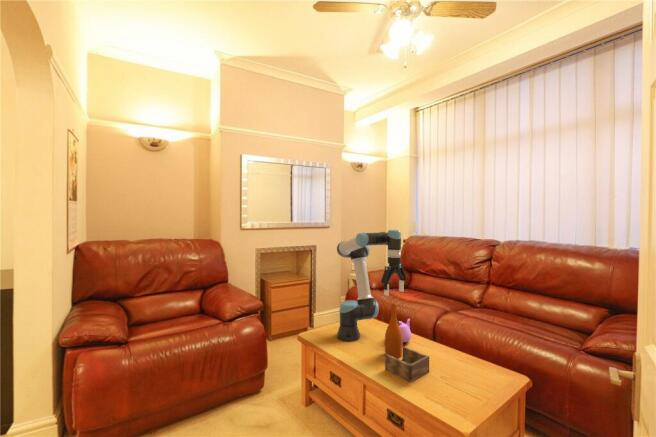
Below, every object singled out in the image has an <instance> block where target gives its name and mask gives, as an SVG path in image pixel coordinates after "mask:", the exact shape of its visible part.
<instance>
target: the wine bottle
mask: <svg viewBox="0 0 656 437" xmlns="http://www.w3.org/2000/svg"><path fill="white" fill-rule="evenodd" d="M390 312H391V313H390V315H391V316H390V319H389V323H388V325H387V326H386V327H387V328H386V330H385V335H384V347H385V348H384V352H385V354H388V355H390V356H392V357H395V358H397V359H399V358H401V357H403V345H402V333H401V330H400V327H399V326H400V324H399V321H400V320H398V319H397V304H396V303H391V304H390Z"/></svg>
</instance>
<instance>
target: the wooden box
mask: <svg viewBox="0 0 656 437" xmlns="http://www.w3.org/2000/svg"><path fill="white" fill-rule="evenodd" d="M384 364H385V365H384V370H385V371H386V372H388V373H389V374H392V375H394V376H396V377H398V378H401V379H402V380H404V381H406V382H408V383H412V382H415V381H416V380H419V379H420V378H421V377H423V376H425V375H426V374H428V373H430V356H429V355H427V354H424V353H421V352H419V351H417V350H415V349H412V348H410V347H407V346H403V345H402V359H399V358H395V357H392V356H390V355H388V354H386V353H385V354H384Z"/></svg>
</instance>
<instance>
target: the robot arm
mask: <svg viewBox="0 0 656 437" xmlns="http://www.w3.org/2000/svg"><path fill="white" fill-rule="evenodd" d="M370 246H387V264H388V266H387V265H385V266H384V270H383V274H382V277H381V281H380V283H381V284H383V295H384V296H387V297H389V296H390V294H389V293H390V285H389V283H390V280H391V279H392V276H393V275H394V274H396V275H397V276H398V291H399V292H401V293H404V290H405V289H404V285H405V281H407V275H406V272H405V269H404V264H403V263H402V257H401V256H402V231H401V230H400V229H389V230H387V232H386V231H380V232H360V233H359V232H358V233H356V236H355V237H353V238H351V239H349V240H343V241H339V243H338V244H337V246H336V252H337V254H338V256H340V257H342V258H345V259H346V258H350V261H351V262H352V263H353V267H354V275H355V281H356V288H357V294H358V295H357V296H358V297H357V299H356V300H355V299H346V300H344V301H342V302H340V305H339V327H338V330H337V333H336V337H337V339H338V340H340V341H343V342H355V341H358V340H359V339H360V338H361V333H360V331H359V330H360V329H359V327H358V326H359V325H358V321H364V320H372V319H375V318H376V317H377V316H378V315H379V312H380V311H379V310H380V309H379V307H380V306H379V303H378V301H377V300H375V299H374V297H373V295H372V293H371V287H370V279H369V274H368V267H367V260H368V257H369V255H370Z"/></svg>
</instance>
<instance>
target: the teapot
mask: <svg viewBox="0 0 656 437" xmlns="http://www.w3.org/2000/svg"><path fill="white" fill-rule="evenodd" d="M398 321H399V324H400V326H399V327H400V330H401V333H402V346H403V345H404V343H409V341H410V340H411V339H412V332H411V329H410V328H411V326H410V321H411V318H407V320H406V323H405V322H403V321H402V320H401V321H400V320H398Z"/></svg>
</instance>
